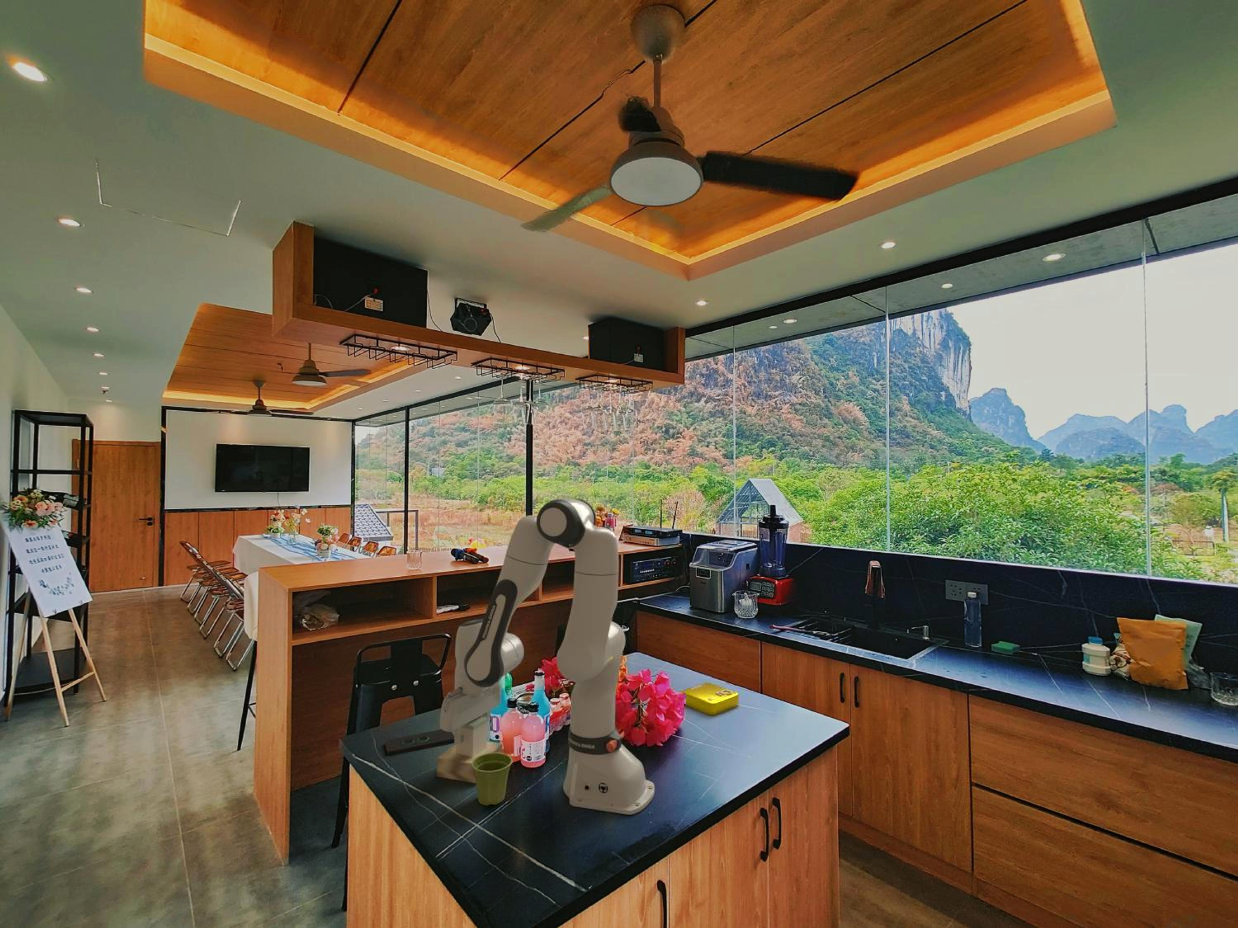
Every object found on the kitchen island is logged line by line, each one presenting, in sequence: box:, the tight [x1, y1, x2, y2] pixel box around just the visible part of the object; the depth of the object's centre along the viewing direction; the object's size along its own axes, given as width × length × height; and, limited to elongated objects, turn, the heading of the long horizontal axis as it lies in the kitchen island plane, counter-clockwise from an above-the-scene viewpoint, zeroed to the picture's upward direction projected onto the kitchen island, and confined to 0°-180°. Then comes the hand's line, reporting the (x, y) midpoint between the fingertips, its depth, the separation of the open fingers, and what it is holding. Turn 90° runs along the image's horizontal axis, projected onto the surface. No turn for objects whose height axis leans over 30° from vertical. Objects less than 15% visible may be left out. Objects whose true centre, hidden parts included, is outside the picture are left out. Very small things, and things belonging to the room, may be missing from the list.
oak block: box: [436, 740, 503, 784], centre depth 146 cm, size 12×12×5 cm
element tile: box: [681, 681, 740, 716], centre depth 190 cm, size 15×15×5 cm
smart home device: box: [384, 728, 455, 756], centre depth 160 cm, size 8×2×20 cm
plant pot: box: [472, 752, 513, 806], centre depth 132 cm, size 9×9×9 cm
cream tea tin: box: [455, 715, 489, 758], centre depth 146 cm, size 6×6×8 cm
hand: (471, 735), depth 146 cm, fingers open, 8 cm apart
